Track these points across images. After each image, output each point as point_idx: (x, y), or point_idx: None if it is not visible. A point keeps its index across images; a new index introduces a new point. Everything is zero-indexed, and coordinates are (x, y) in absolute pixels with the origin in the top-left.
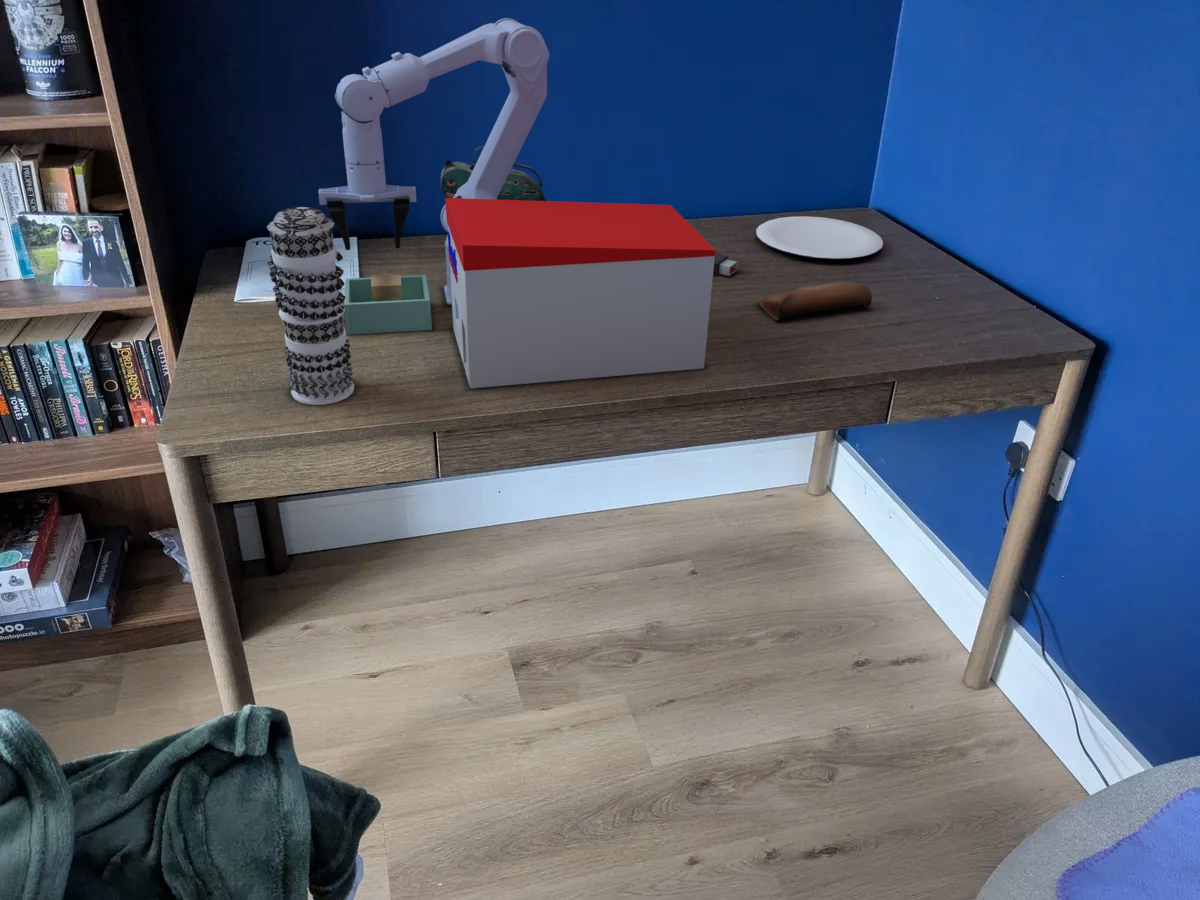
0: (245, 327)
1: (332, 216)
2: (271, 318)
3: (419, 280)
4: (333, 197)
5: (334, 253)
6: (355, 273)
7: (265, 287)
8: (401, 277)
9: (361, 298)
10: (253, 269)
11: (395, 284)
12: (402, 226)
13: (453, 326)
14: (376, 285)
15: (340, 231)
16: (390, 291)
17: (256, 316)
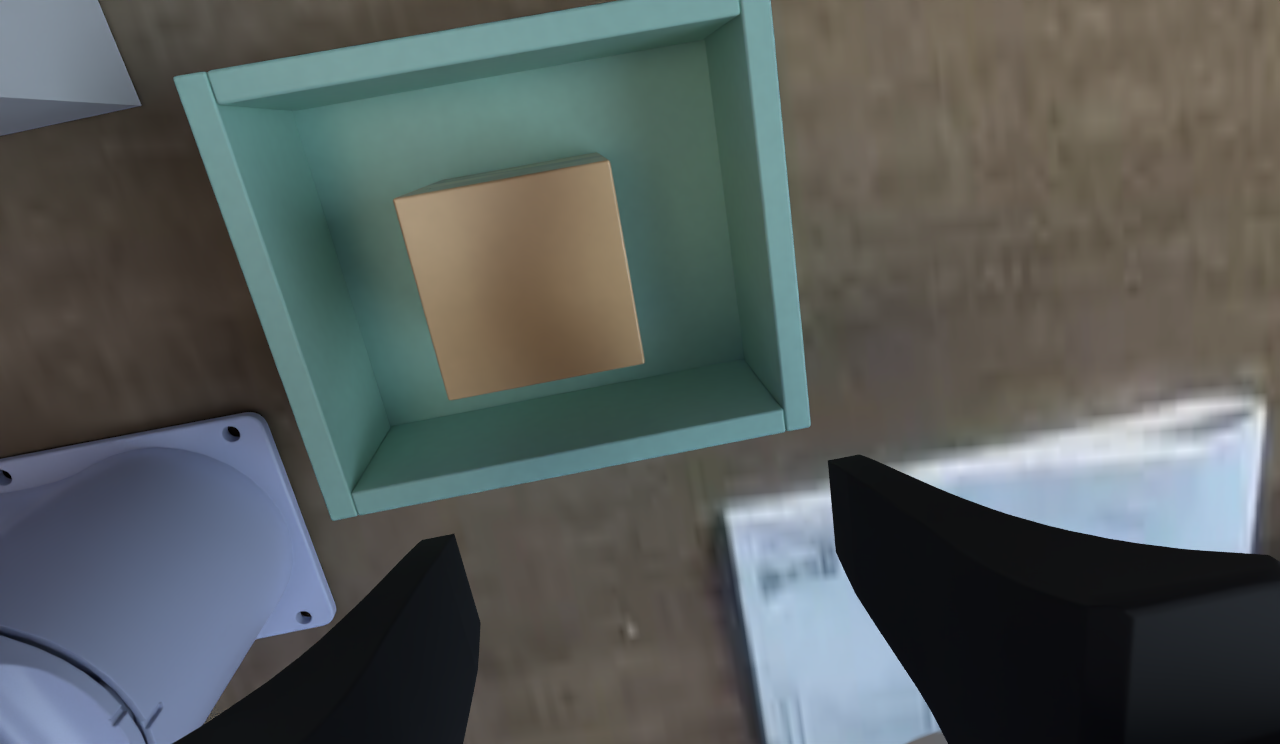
0: (1224, 105)
1: (1205, 555)
2: (1108, 221)
3: (374, 478)
4: None
5: None
6: (780, 725)
7: None
8: (476, 468)
9: (704, 377)
10: None
11: (438, 205)
12: (294, 663)
13: (121, 86)
14: (574, 177)
15: (980, 508)
16: (480, 180)
17: (1175, 242)
